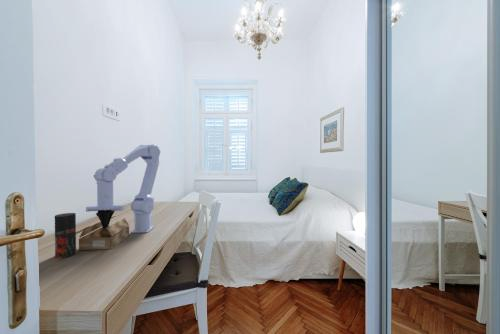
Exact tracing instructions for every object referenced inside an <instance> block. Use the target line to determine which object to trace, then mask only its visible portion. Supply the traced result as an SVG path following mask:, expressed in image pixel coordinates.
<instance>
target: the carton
mask: <svg viewBox="0 0 500 334" xmlns="http://www.w3.org/2000/svg"><path fill="white" fill-rule="evenodd" d="M128 237H130V225H129V226H127V227H126V228H124V229H123V230H121V231H120V232H118V233H116V234H115V235H113V236H111V235H110V233H109V232H108V230H107V229H106V228H103V227H100V228H98V229H96V230H94V231H92V232H90V233H88V234H86V235H84V236H82V237H79V238H78V251H99V250H113V249H114V248H115V247H116V246H118V245H119V244H121V243H122V242H123V241H125V240H126V239H128Z"/></svg>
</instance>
